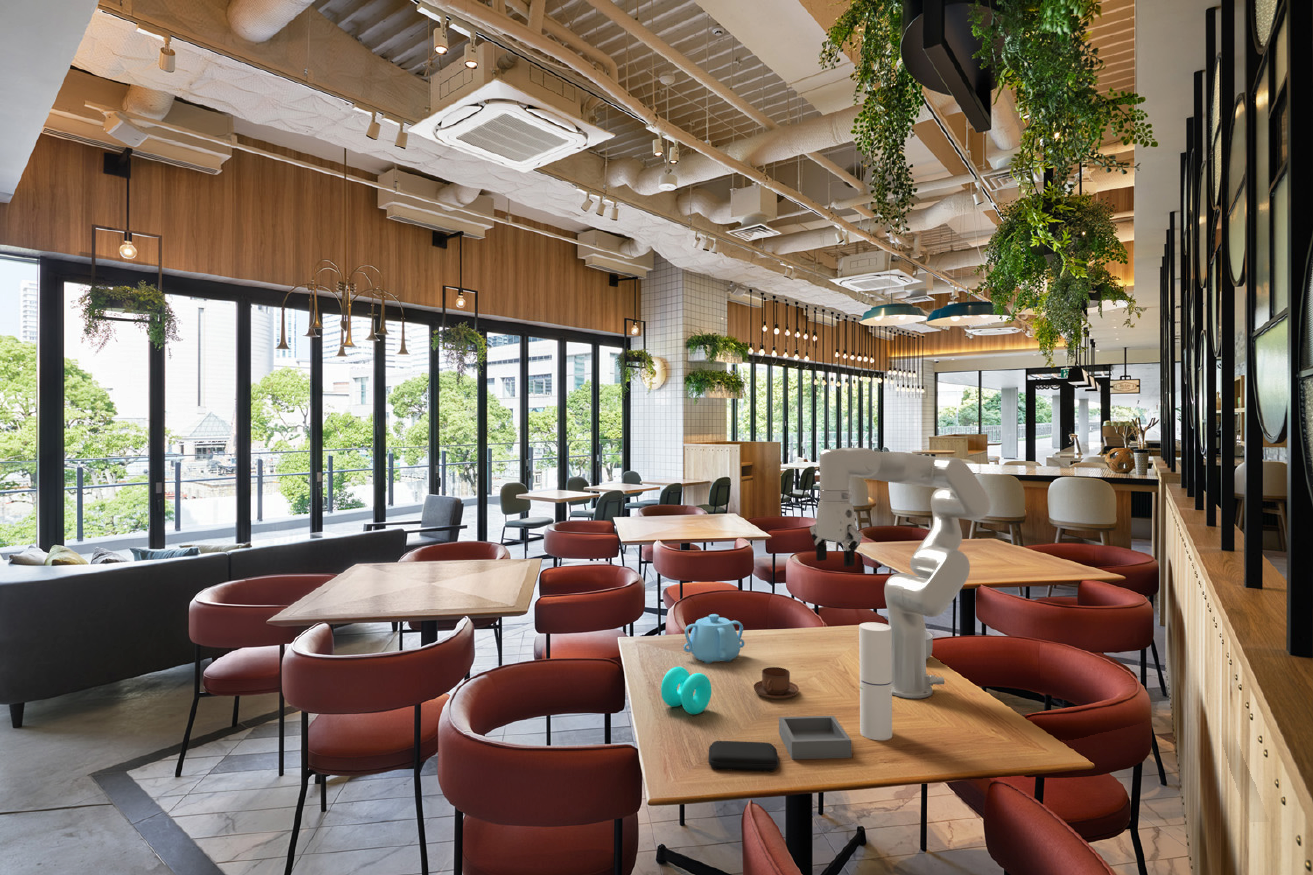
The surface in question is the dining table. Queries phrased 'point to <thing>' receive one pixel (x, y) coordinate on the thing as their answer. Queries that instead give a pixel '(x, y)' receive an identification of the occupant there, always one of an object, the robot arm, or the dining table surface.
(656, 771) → the dining table surface
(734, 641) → the decorative pot
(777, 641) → the dining table surface
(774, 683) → the cup and saucer
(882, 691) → the cylindrical container
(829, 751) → the holder tray
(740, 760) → the carrying case or bag
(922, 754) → the dining table surface
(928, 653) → the teacup
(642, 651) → the dining table surface
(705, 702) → the turquoise double ring spool
